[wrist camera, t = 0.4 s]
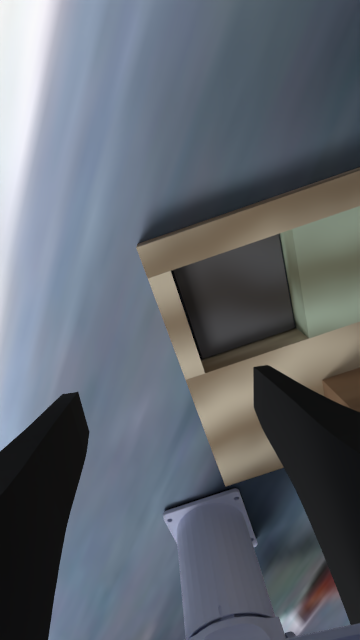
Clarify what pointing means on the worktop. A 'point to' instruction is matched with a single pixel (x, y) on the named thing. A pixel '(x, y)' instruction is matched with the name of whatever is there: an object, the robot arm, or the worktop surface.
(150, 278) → the trap deck
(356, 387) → the walnut block
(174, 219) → the worktop surface
